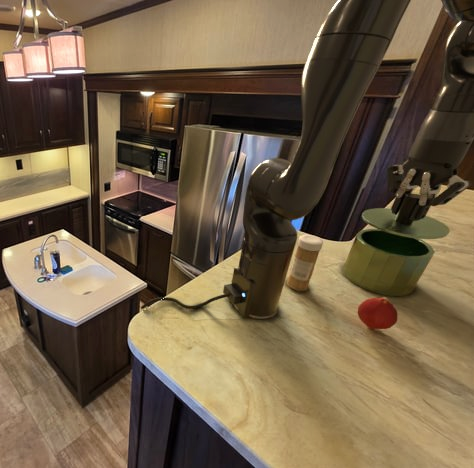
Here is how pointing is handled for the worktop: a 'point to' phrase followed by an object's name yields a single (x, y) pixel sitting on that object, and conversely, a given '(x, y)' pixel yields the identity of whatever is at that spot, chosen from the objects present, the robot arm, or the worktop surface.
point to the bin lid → (405, 221)
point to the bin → (387, 262)
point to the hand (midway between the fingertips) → (405, 216)
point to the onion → (377, 313)
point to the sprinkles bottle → (304, 262)
